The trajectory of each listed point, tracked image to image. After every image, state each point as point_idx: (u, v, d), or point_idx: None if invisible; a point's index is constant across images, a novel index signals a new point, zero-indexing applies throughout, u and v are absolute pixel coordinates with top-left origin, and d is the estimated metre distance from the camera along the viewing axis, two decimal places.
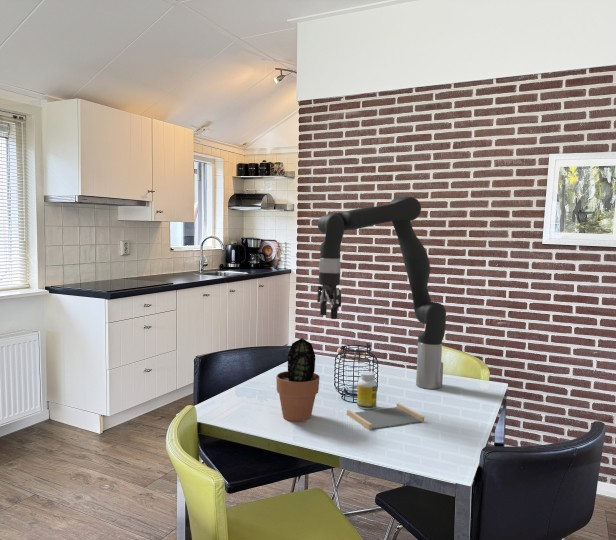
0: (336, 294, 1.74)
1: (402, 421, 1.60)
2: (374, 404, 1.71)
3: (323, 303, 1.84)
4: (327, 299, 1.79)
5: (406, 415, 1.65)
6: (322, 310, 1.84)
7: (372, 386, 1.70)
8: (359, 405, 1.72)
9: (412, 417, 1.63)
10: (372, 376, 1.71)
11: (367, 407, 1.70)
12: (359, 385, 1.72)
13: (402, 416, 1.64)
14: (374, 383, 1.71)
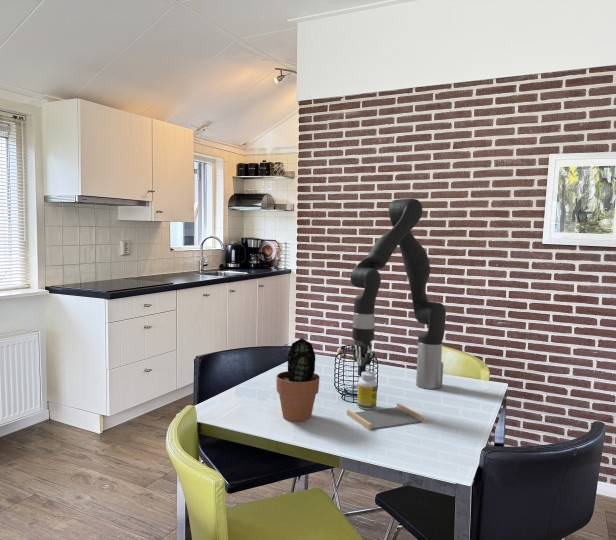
0: (368, 357, 1.71)
1: (402, 421, 1.60)
2: (374, 404, 1.71)
3: None
4: None
5: (406, 415, 1.65)
6: None
7: (373, 387, 1.70)
8: (359, 405, 1.72)
9: (412, 417, 1.63)
10: (373, 376, 1.71)
11: (367, 407, 1.70)
12: (359, 385, 1.71)
13: (402, 416, 1.64)
14: (374, 383, 1.71)
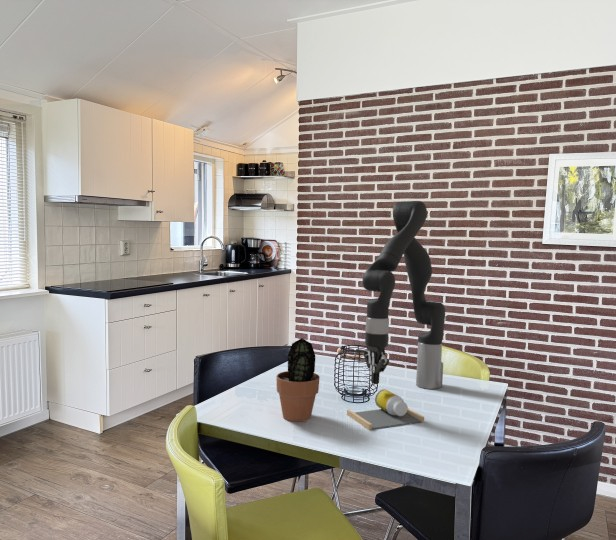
0: (383, 364, 1.63)
1: (402, 421, 1.60)
2: (378, 406, 1.70)
3: None
4: None
5: (406, 415, 1.65)
6: None
7: (386, 409, 1.64)
8: (380, 391, 1.70)
9: (412, 417, 1.63)
10: (395, 412, 1.61)
11: (375, 398, 1.70)
12: (391, 396, 1.64)
13: (402, 416, 1.64)
14: (390, 412, 1.63)
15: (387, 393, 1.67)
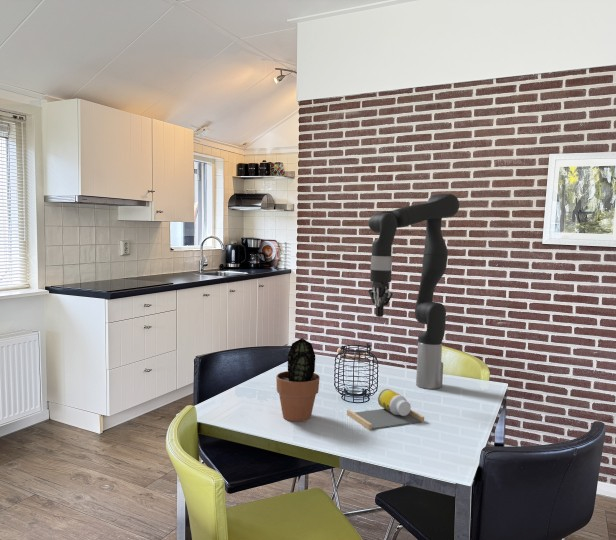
0: (386, 297, 1.79)
1: (402, 421, 1.60)
2: (380, 403, 1.70)
3: None
4: (376, 293, 1.85)
5: (406, 415, 1.65)
6: None
7: (389, 406, 1.64)
8: (385, 389, 1.71)
9: (412, 417, 1.63)
10: (397, 410, 1.62)
11: (379, 395, 1.71)
12: (397, 395, 1.65)
13: (402, 416, 1.64)
14: (392, 410, 1.64)
15: (393, 392, 1.68)
